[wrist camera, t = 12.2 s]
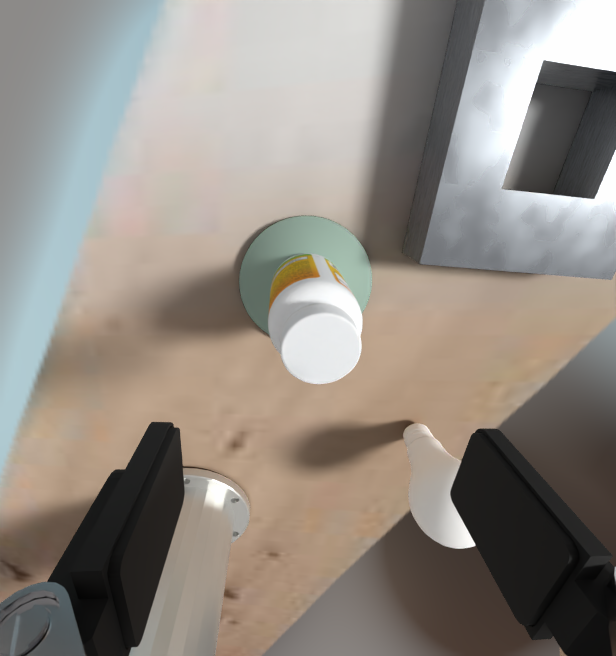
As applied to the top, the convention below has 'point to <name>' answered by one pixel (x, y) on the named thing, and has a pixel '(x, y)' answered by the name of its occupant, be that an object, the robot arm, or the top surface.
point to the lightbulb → (434, 488)
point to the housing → (501, 137)
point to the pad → (301, 239)
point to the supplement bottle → (314, 319)
